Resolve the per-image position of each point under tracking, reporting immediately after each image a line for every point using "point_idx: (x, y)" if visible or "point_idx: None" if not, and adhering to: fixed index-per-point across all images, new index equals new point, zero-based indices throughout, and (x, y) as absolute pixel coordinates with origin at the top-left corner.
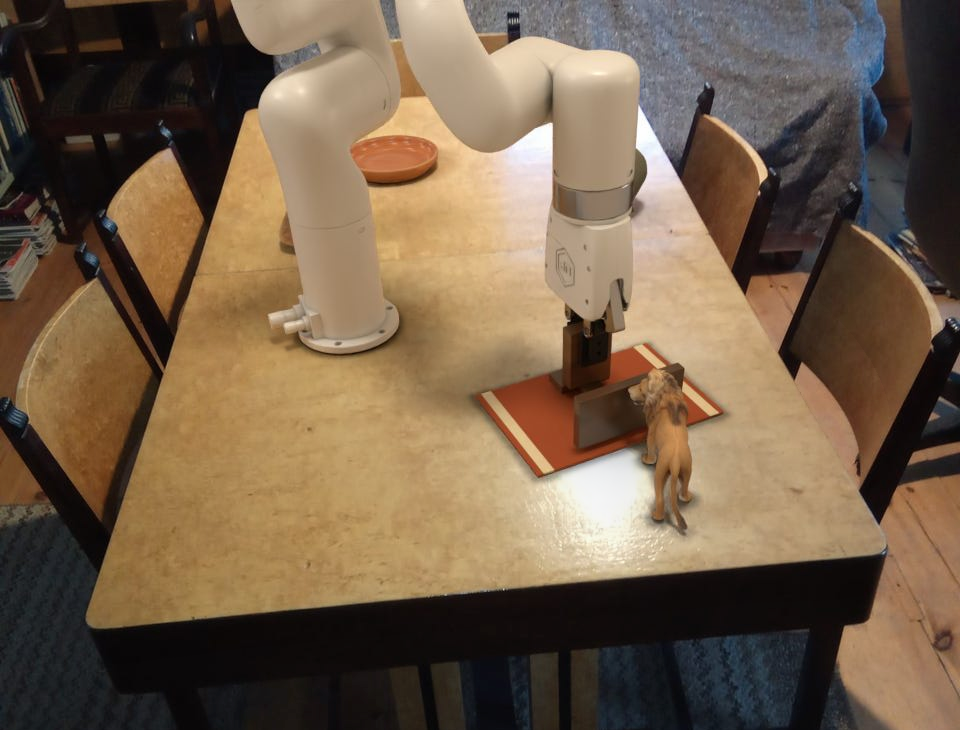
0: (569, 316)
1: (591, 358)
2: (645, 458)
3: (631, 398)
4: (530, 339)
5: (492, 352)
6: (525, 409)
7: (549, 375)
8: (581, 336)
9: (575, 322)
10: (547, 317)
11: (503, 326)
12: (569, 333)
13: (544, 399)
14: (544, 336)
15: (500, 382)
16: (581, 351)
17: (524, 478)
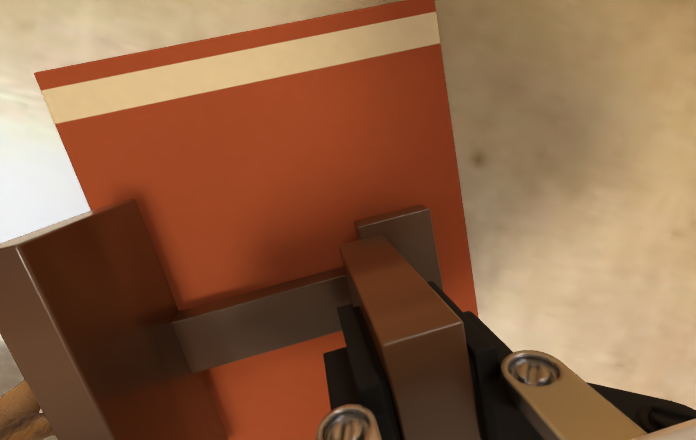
0: (516, 374)
1: (324, 357)
2: None
3: (47, 437)
4: (608, 204)
5: (598, 97)
6: (335, 116)
7: (424, 208)
8: (360, 386)
9: (478, 382)
10: (668, 261)
11: (683, 153)
12: (398, 340)
13: (363, 176)
14: (605, 238)
15: (473, 84)
16: (345, 340)
17: (42, 34)
